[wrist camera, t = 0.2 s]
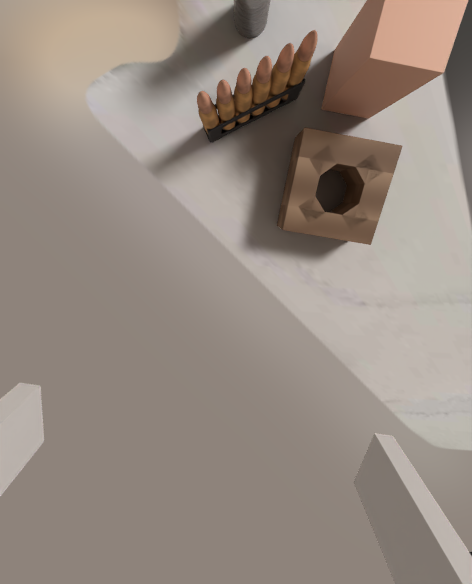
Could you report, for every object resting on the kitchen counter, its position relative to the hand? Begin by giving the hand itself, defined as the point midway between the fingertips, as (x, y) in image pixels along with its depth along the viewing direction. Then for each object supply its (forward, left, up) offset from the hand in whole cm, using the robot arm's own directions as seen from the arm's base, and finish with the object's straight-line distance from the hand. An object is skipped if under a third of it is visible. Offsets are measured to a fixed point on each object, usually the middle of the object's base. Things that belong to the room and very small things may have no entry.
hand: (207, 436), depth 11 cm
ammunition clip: (-18, 0, -28) cm, 33 cm away
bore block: (-12, +10, -27) cm, 31 cm away
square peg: (-23, +10, -27) cm, 37 cm away
